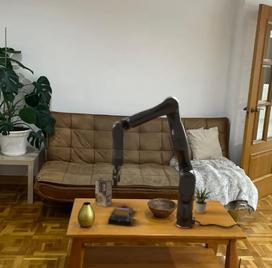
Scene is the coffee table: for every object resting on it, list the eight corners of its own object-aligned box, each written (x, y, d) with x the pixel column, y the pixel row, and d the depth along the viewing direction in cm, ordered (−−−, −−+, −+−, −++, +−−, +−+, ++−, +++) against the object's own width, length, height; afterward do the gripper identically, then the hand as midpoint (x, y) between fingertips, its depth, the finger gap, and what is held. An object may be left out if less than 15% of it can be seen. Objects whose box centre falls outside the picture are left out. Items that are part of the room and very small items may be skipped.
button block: (133, 211, 227) (133, 205, 226) (130, 216, 218) (131, 210, 217) (115, 209, 228) (116, 203, 227) (112, 214, 219) (113, 208, 218)
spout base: (133, 218, 215) (133, 213, 215) (130, 227, 203) (130, 222, 203) (112, 216, 217) (112, 211, 216) (107, 225, 205) (107, 219, 204)
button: (126, 206, 224) (127, 203, 223) (125, 208, 220) (126, 206, 220) (121, 206, 224) (121, 203, 224) (120, 208, 221) (120, 205, 220)
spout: (128, 216, 210) (128, 208, 209) (127, 218, 208) (128, 209, 207) (114, 215, 211) (115, 206, 210) (114, 216, 209) (114, 208, 208)
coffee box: (111, 204, 235) (113, 180, 233) (105, 207, 230) (106, 182, 227) (100, 201, 240) (101, 177, 237) (94, 203, 235) (95, 179, 232)
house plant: (212, 218, 223) (215, 193, 220) (189, 215, 225) (192, 190, 222) (211, 209, 237) (214, 185, 234) (190, 207, 239) (192, 183, 236)
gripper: (121, 160, 198) (120, 188, 201) (126, 154, 212) (125, 180, 215) (108, 159, 199) (107, 187, 202) (113, 153, 213) (112, 179, 216)
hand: (116, 183), depth 208 cm, fingers open, 8 cm apart
